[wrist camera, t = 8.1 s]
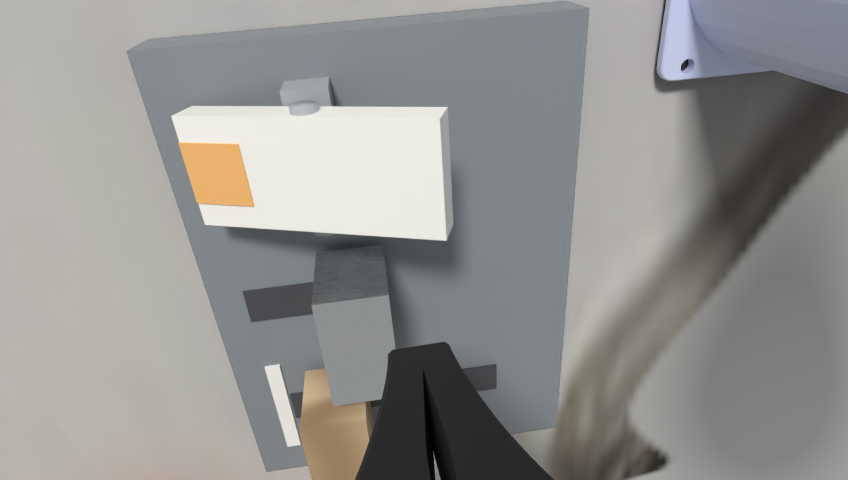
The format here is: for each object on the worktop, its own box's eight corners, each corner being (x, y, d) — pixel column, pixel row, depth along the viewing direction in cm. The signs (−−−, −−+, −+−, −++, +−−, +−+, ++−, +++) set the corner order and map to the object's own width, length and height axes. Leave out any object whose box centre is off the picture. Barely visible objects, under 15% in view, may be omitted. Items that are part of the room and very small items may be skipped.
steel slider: (382, 244, 20) (388, 294, 17) (394, 337, 22) (401, 396, 19) (316, 252, 19) (311, 305, 17) (334, 345, 22) (333, 406, 19)
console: (566, 1, 18) (606, 13, 16) (543, 396, 28) (565, 449, 25) (147, 39, 17) (109, 60, 15) (271, 437, 27) (262, 497, 24)
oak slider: (363, 362, 22) (366, 423, 19) (375, 435, 24) (379, 499, 22) (305, 371, 22) (299, 433, 19) (322, 443, 24) (319, 509, 21)
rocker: (447, 99, 14) (439, 111, 14) (453, 230, 16) (446, 247, 16) (189, 99, 16) (167, 109, 15) (223, 215, 18) (205, 231, 17)
